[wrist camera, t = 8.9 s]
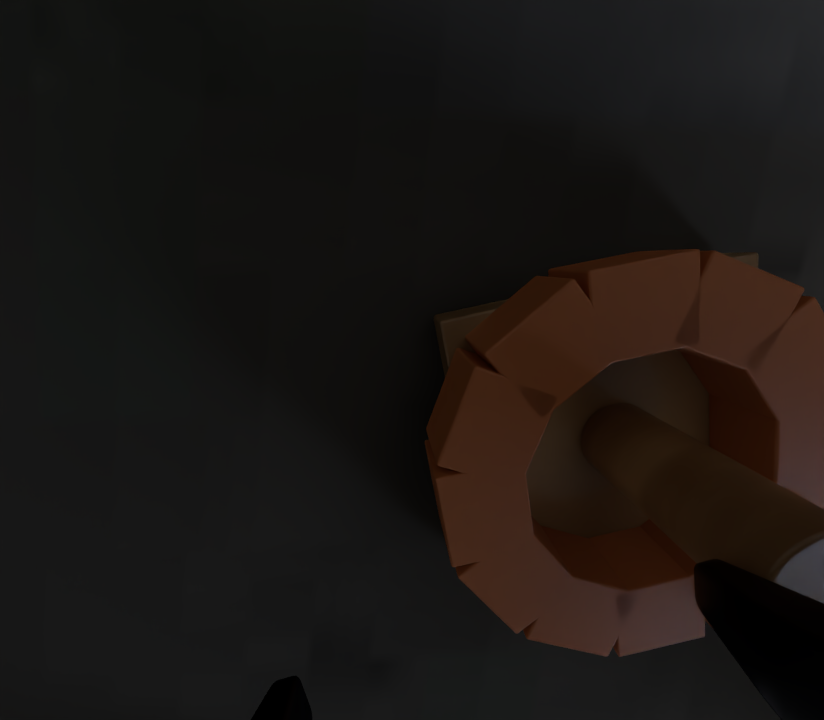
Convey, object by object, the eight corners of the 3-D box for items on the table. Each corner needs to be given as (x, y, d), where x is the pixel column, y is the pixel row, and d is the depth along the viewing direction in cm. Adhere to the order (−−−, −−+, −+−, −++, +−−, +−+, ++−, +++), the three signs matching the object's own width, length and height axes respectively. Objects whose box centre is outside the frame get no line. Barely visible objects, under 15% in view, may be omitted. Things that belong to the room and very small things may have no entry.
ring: (782, 222, 12) (878, 212, 10) (770, 552, 15) (842, 604, 13) (396, 299, 12) (401, 307, 9) (460, 623, 15) (476, 691, 12)
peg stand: (719, 252, 14) (1161, 238, 6) (723, 506, 16) (1040, 728, 8) (432, 314, 13) (509, 385, 6) (480, 564, 16) (579, 851, 8)
